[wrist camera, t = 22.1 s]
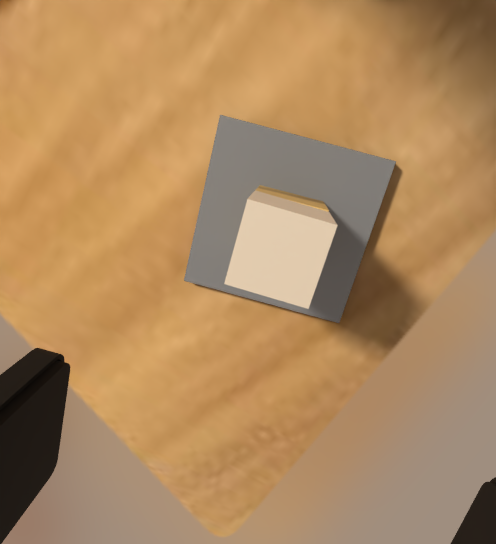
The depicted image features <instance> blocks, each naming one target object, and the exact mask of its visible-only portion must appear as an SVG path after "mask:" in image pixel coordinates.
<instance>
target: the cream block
mask: <svg viewBox="0 0 496 544" xmlns="http://www.w3.org/2000/svg"><path fill="white" fill-rule="evenodd" d="M337 226H338V225H337V224H336V222H335V220H334V219H333V217H332V216H331V214H330V212H328V211H324V210H321V209H317V208H314V207H311V206H307V205H304V204H300V203H297V202H293V201H290V200H287V199H283V198H280V197H276V196H273V195H270V194H266V193H263V192H259V191H256V190H255V191H254V192H253V193H252V194H251V195H250V197H249V198H248V199H247V202H246V206H245V210H244V213H243V217H242V221H241V224H240V228H239V232H238V235H237V239H236V242H235V246H234V250H233V253H232V257H231V261H230V264H229V268H228V272H227V275H226V279H225V283H224V284H226V285H229V286H233V287H236V288H239V289H243V290H246V291H249V292H253V293H256V294H260V295H263V296H266V297H270V298H273V299H276V300H280V301H283V302H287V303H290V304H293V305H297V306H300V307H303V308H307V309H309V306H310V303H311V300H312V297H313V295H314V292H315V289H316V286H317V283H318V280H319V277H320V274H321V272H322V269H323V266H324V263H325V260H326V257H327V254H328V251H329V249H330V246H331V243H332V240H333V237H334V234H335V231H336V228H337Z"/></svg>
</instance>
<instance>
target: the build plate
mask: <svg viewBox="0 0 496 544" xmlns="http://www.w3.org/2000/svg"><path fill="white" fill-rule="evenodd" d="M395 163H396V161H392V160H389V159H385V158H381V157H377V156H374V155H370V154H366V153H362V152H358V151H355V150H351V149H347V148H343V147H340V146H336V145H332V144H328V143H325V142H321V141H317V140H313V139H310V138H306V137H302V136H298V135H295V134H291V133H287V132H283V131H279V130H276V129H272V128H268V127H264V126H261V125H257V124H253V123H249V122H246V121H242V120H238V119H234V118H231V117H227V116H223V115H220V118H219V123H218V127H217V132H216V136H215V141H214V146H213V150H212V155H211V159H210V164H209V169H208V173H207V178H206V182H205V187H204V191H203V196H202V201H201V205H200V210H199V214H198V219H197V223H196V228H195V233H194V237H193V242H192V246H191V251H190V256H189V260H188V265H187V269H186V274H185V278H184V281H187V282H191V283H195V284H198V285H202V286H206V287H209V288H213V289H217V290H220V291H224V292H227V293H231V294H235V295H238V296H242V297H246V298H249V299H253V300H256V301H260V302H264V303H267V304H271V305H275V306H278V307H282V308H286V309H289V310H293V311H296V312H300V313H304V314H307V315H311V316H315V317H318V318H322V319H326V320H329V321H333V322H336V323H339V322H340V319H341V317H342V314H343V311H344V308H345V305H346V302H347V300H348V297H349V294H350V291H351V288H352V285H353V282H354V280H355V277H356V274H357V271H358V268H359V265H360V263H361V260H362V257H363V254H364V251H365V248H366V245H367V243H368V240H369V237H370V234H371V231H372V228H373V226H374V223H375V220H376V217H377V214H378V211H379V208H380V206H381V203H382V200H383V197H384V194H385V191H386V189H387V186H388V183H389V180H390V177H391V174H392V171H393V169H394V166H395ZM259 185H262V186H266V187H270V188H273V189H277V190H281V191H285V192H289V193H293V194H297V195H300V196H304V197H308V198H312V199H316V200H320V201H323V202H324V203H325V205H326V206H327V208H328V209H329V212H330V214H331V216H332V217H333V219H334V220H335V222H336V224H337V225H338V226H337V228H336V231H335V234H334V237H333V240H332V243H331V246H330V249H329V251H328V254H327V257H326V260H325V263H324V266H323V269H322V272H321V274H320V277H319V280H318V283H317V286H316V289H315V292H314V295H313V297H312V300H311V303H310V306H309V309H307V308H303V307H300V306H297V305H293V304H290V303H287V302H283V301H280V300H276V299H273V298H270V297H266V296H263V295H260V294H256V293H253V292H249V291H246V290H243V289H239V288H236V287H233V286H229V285H226V284H224V283H225V279H226V275H227V272H228V268H229V264H230V261H231V257H232V253H233V250H234V246H235V242H236V239H237V235H238V232H239V228H240V224H241V221H242V217H243V213H244V210H245V206H246V202H247V199H248V198H249V197H250V195H251V194H252V193H253V192H254V191H255V190H256V189H257V188H258V187H259Z"/></svg>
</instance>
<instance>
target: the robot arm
mask: <svg viewBox="0 0 496 544" xmlns="http://www.w3.org/2000/svg"><path fill="white" fill-rule="evenodd" d="M69 374H70V365H69V364H68V363H65V362H64V356H63V355H61V354H58V353H54V352H51V351H47V350H44V349H40V348H35V349H34V350H32V351H31V352H29V353H28V354H27V355H26V356H25V357H23V358H22V359H21V360H19V361H18V362H17V363H15V364H14V365H13V366H12V367H10V368H9V369H8V370H6V371H5V372H4V373H3V374H1V375H0V544H1V543H2V542H3V540H4V539H5V538H6V537H7V535H8V534H9V532H10V531H11V530H12V528H13V527H14V526H15V524H16V523H17V522H18V520H19V519H20V517H21V516H22V515H23V513H24V512H25V511H26V509H27V508H28V507H29V505H30V504H31V503H32V501H33V500H34V498H35V497H36V496H37V494H38V493H39V491H40V490H41V489H42V487H43V486H44V485H45V483H46V482H47V481H48V479H49V478H50V476H51V475H52V473H53V471H54V469H55V467H56V463H57V460H58V453H59V446H60V439H61V431H62V424H63V416H64V410H65V402H66V396H67V388H68V381H69ZM451 544H496V478H494V479H492V480H491V481H490V482H485V483H484V484H483V485H482V487H481V488H480V490H479V492H478V494H477V496H476V498H475V500H474V501H473V503H472V505H471V507H470V509H469V511H468V513H467V515H466V516H465V518H464V520H463V522H462V524H461V526H460V528H459V529H458V531H457V533H456V535H455V537H454V539H453V540H452V542H451Z"/></svg>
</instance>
